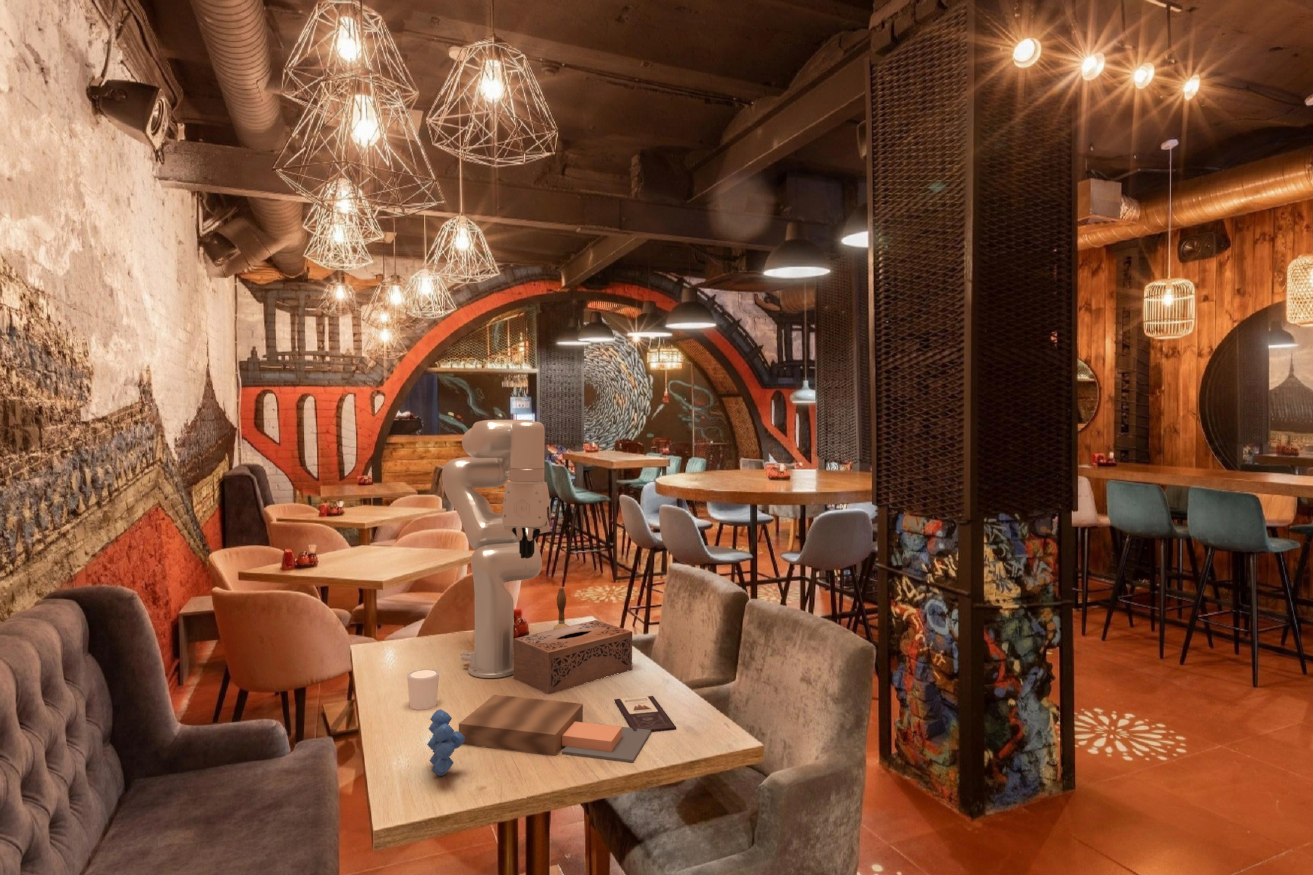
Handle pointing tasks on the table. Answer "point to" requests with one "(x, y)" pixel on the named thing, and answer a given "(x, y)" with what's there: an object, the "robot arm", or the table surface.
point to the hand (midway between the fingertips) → (526, 557)
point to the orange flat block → (592, 736)
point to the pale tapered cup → (423, 688)
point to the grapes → (443, 742)
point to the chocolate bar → (644, 714)
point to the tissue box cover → (572, 655)
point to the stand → (520, 724)
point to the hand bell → (561, 608)
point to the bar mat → (616, 747)
